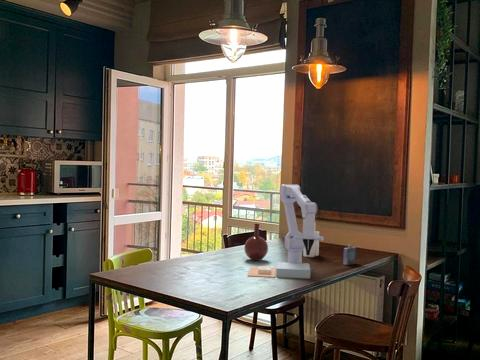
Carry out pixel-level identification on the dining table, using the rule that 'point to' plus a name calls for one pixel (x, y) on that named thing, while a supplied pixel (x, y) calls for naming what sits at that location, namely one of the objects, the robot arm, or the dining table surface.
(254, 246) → the round-bottom flask
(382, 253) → the dining table surface
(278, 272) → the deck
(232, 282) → the dining table surface
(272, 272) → the mat
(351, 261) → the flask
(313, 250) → the white tall block
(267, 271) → the tile
